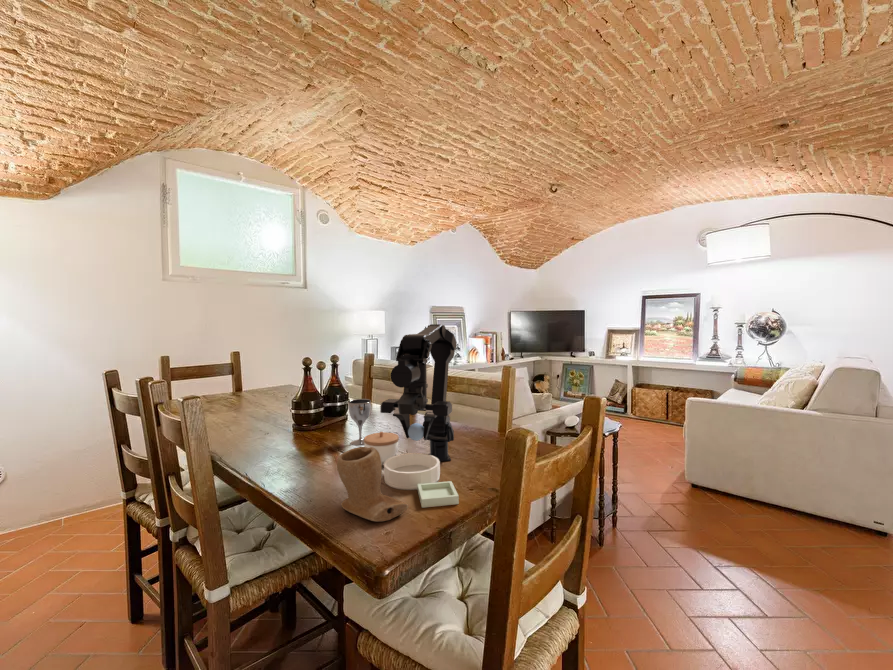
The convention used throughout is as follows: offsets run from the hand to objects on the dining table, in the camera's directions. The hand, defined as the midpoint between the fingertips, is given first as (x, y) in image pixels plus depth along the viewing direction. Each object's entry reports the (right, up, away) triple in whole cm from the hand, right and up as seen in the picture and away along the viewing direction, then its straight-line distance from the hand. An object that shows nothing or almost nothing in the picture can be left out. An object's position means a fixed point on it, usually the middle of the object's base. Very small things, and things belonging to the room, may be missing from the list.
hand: (416, 438), depth 112 cm
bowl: (-2, -12, +4) cm, 13 cm away
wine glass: (-23, -11, +37) cm, 45 cm away
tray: (+6, -13, -8) cm, 16 cm away
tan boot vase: (-10, -14, -16) cm, 23 cm away
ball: (0, +2, 0) cm, 2 cm away
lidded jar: (-12, -12, +17) cm, 24 cm away
